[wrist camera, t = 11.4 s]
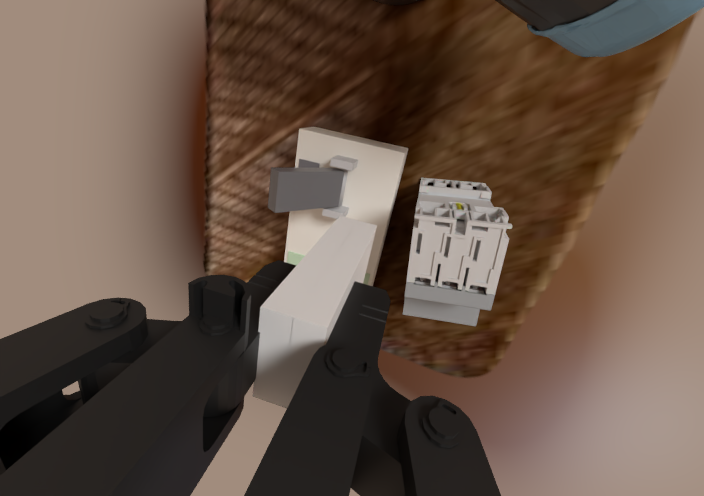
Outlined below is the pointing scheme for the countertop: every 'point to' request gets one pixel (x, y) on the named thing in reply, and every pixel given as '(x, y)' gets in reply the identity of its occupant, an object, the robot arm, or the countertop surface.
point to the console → (347, 189)
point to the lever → (306, 188)
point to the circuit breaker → (455, 252)
